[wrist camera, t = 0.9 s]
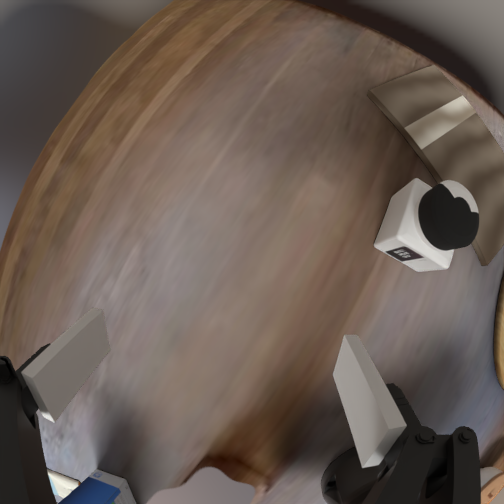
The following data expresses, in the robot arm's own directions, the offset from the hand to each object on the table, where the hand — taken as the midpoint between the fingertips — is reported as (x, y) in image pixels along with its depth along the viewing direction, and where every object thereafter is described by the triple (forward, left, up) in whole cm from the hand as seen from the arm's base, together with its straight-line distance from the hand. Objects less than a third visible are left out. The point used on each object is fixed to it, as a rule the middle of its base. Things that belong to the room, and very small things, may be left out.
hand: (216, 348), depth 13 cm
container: (-3, -22, -20) cm, 30 cm away
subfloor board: (+1, -42, -20) cm, 47 cm away
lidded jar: (-61, -17, -20) cm, 67 cm away
